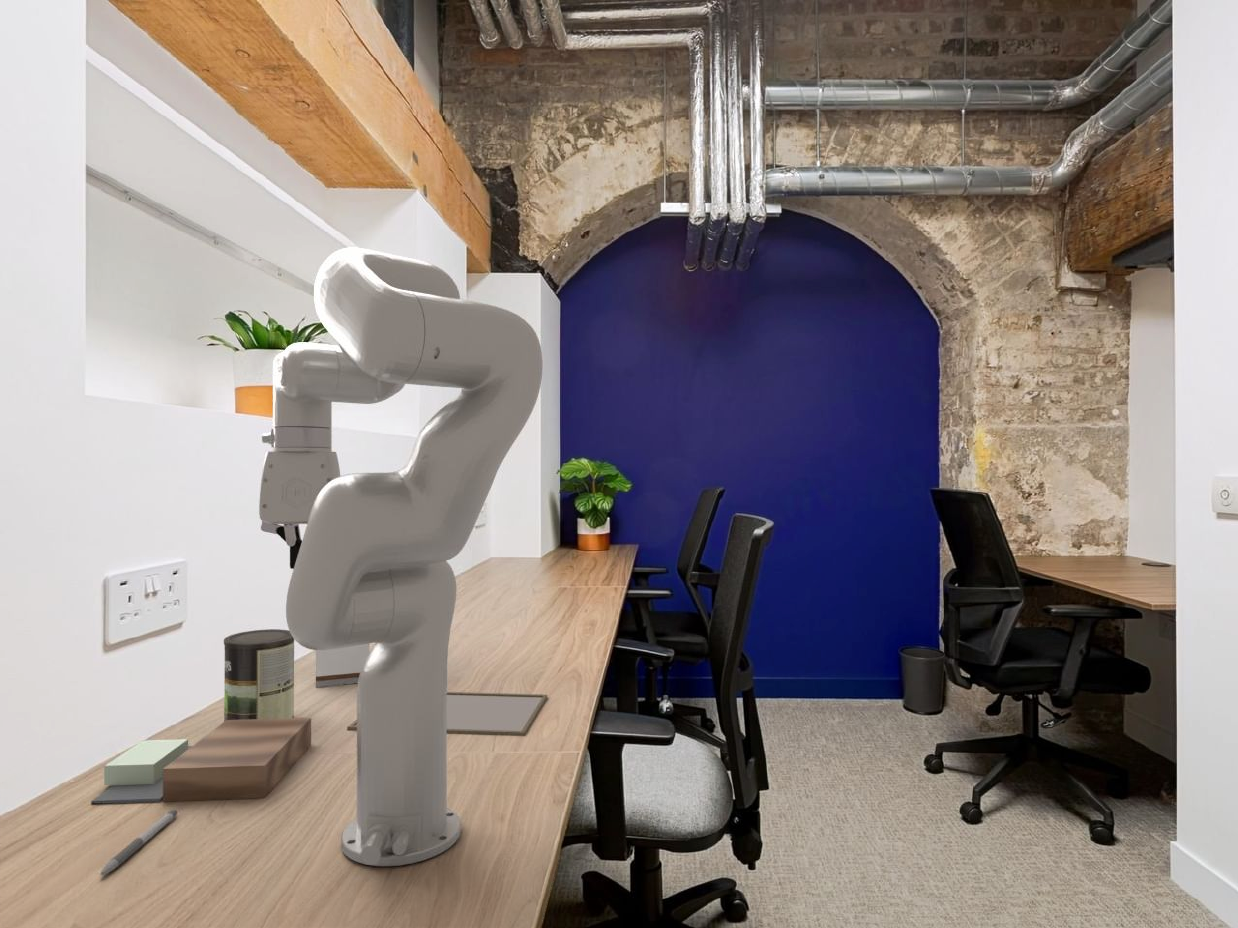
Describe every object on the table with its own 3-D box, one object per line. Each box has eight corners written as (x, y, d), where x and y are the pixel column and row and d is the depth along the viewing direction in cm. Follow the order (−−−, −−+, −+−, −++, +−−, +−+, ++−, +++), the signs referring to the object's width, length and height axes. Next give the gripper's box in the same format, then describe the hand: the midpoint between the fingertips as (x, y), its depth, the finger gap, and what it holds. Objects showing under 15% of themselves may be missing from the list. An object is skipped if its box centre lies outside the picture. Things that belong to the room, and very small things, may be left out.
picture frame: (347, 733, 118) (524, 739, 115) (347, 726, 118) (524, 732, 115) (394, 695, 137) (547, 700, 134) (394, 690, 137) (547, 694, 134)
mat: (160, 801, 92) (160, 798, 92) (91, 804, 92) (91, 800, 92) (224, 747, 110) (224, 744, 110) (166, 749, 110) (166, 746, 110)
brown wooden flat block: (264, 797, 93) (264, 765, 93) (162, 801, 92) (163, 768, 92) (311, 744, 111) (311, 717, 111) (226, 747, 110) (226, 719, 110)
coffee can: (219, 739, 114) (219, 645, 114) (228, 718, 123) (228, 631, 123) (293, 730, 117) (293, 640, 117) (296, 710, 127) (296, 627, 127)
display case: (375, 681, 144) (376, 498, 145) (315, 687, 140) (316, 499, 141) (371, 667, 155) (372, 496, 155) (316, 672, 151) (316, 497, 151)
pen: (180, 817, 89) (180, 805, 89) (106, 883, 75) (106, 868, 75) (171, 818, 89) (171, 806, 89) (95, 883, 75) (95, 869, 75)
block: (104, 765, 96) (104, 785, 96) (153, 764, 97) (153, 783, 97) (143, 740, 105) (143, 758, 105) (188, 739, 106) (188, 756, 106)
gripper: (235, 440, 100) (235, 579, 100) (352, 440, 102) (352, 576, 102) (255, 443, 108) (255, 571, 108) (363, 442, 110) (364, 569, 109)
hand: (302, 573), depth 105 cm, fingers closed
